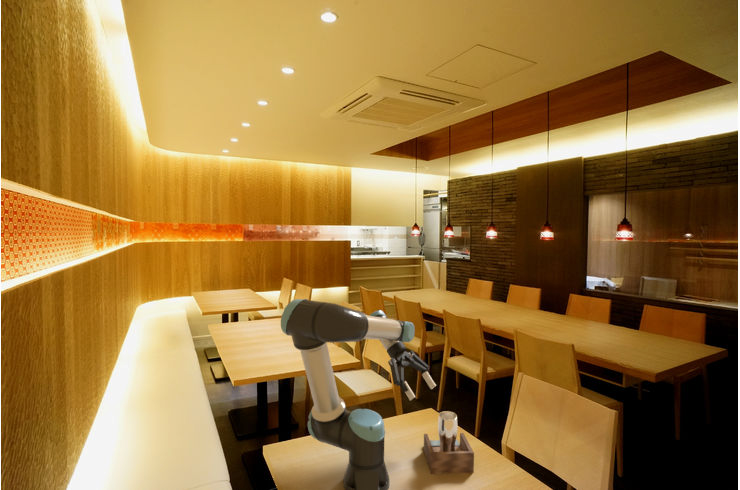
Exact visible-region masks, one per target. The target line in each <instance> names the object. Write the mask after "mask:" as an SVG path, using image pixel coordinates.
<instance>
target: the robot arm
mask: <svg viewBox="0 0 740 490" xmlns="http://www.w3.org/2000/svg"><path fill="white" fill-rule="evenodd" d="M415 327H416V326H415V324H414V323H413V322H411V321H406V320H399V319H392V318H388V316H387V315H386V314H385V312H384V311H383V310H381V309H377V310H375V311H373V312H371V314H369V315H368V314H366V313H364V312H363V311H360V310H356V309H352V308H349V307H347V306H344V305H340V304H338V303H334V302H326V301H325V302H324V301H318V300H317V301H316V300H309V299H307V298H303V299H302V298H296V299H293V300H292V301H290V302H288V303H287V305H286V306H285V307H284V310H283V312H282V314H281V317H280V328H281V331H282V332H283V334H284V335H286V336H290V337H291V339H292V340H291V341H292V343H293V346H294V348H295V349H296V350H299V351H300V355H301V358H302V362H303V366H304V371H305V375H306V378H307V381H308V386H309V389H310V393H311V397H312V400H313V401H312V402H313V406H312V408H311V410H310V412H309V415H308V417H307V418H308V421H307V429H308V432H309V433H308V434H310V435H311V437H312V438H313V439H314V440H317V441H319V442H320V443H323V444H328V445H331V446H333V447H336V448H339V449H342V450H344V451H348V463H347V466H346V469H345V473H344V476H343V489H344V488H345V489H344V490H389V489H390V476H389V472H388V469H387V466H386V463H385V436H386V435H385V434H386V430H385V421H384V420H383V417H382V416H381V415H380V414H379V413H378V412H376V411H374V410H372V409H369V408H357V409H354V410H352V411H349V410H347V407H346V402H345V401H344V399H343V398H341V397H340V396H339V392H338V388H337V383H336V378H335V374H334V369H333V366H332V362H331V361H332V360H331V356H330V351H329V347H328V343H352V342H353V343H355V342H356V343H357V342H360V341H362V340H363V339H364V340H379V342H380V343H381V344H382V346H383V348H384V349H385V350H386V353H387V354H388V356H389V358H390V359H389V360H388V365H389V368H390V371H391V376H392V381H393V385H395V386H398V387H399V386H400V387H401V390H402V391H403V393H405V395H406V396H407V398H408V400H409V401H412V400H413V399H414V398H415V399H416V395H415V393H414V392H413V390H412V389H411V387H410V386H409V384H408V382H407V381H406V380H405V376H404V375H405V373H404V372H405V369H404V368H405V367H411V368H413V369H414V370H416V371H418V372H420V373H422V374H421V376H422V377H423V380H425V382H426V384H427V386H428V387H429V389H430V390H433V389H434V388H435V387H436V386H437V384H436V383H435V381H434V380H433V378H432V376H431V375H430V372H429V371H428V370H430V366H429V365H428V364H427V363H426V362H425V361H423V359H421V358H420V356H418V355H417V354H416V352H414V351H413V350H410V352H408V351H407V347H406V345H405V343H411V342H413V340H414V337H415V333H416V331H415V330H416V329H415Z"/></svg>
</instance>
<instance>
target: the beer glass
mask: <svg viewBox="0 0 740 490" xmlns="http://www.w3.org/2000/svg"><path fill="white" fill-rule="evenodd" d="M458 428H459V427H458V415H457V414H456V413H455V412H453V411H450V410H447V411H446V410H444V411H441V412H438V420H437V433H438V438H439V439H438V440H440V450H439V452H452V451H455V442H456V440H457V435H458Z"/></svg>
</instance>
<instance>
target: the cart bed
mask: <svg viewBox="0 0 740 490" xmlns="http://www.w3.org/2000/svg"><path fill="white" fill-rule="evenodd" d="M439 450H440V440H439V439H437V440H435V439H433V440H430V437H429V435H428V433H424V434H423V453H424V457H425V460H426V462H427V466H428V469H429V472H430V474H431V475H432V474H436V475H437V474H458V473H459V474H463V473H474V471H475V470H474V469H475V463H474V462H475V461H474V460H475V452H474V451H473V449H472V447H471V445H470V443H469V441H468V439H467V437H466V435H465V434H464V432H460V433H459V440H458V439H456V442H455V451H452V452H439Z"/></svg>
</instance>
